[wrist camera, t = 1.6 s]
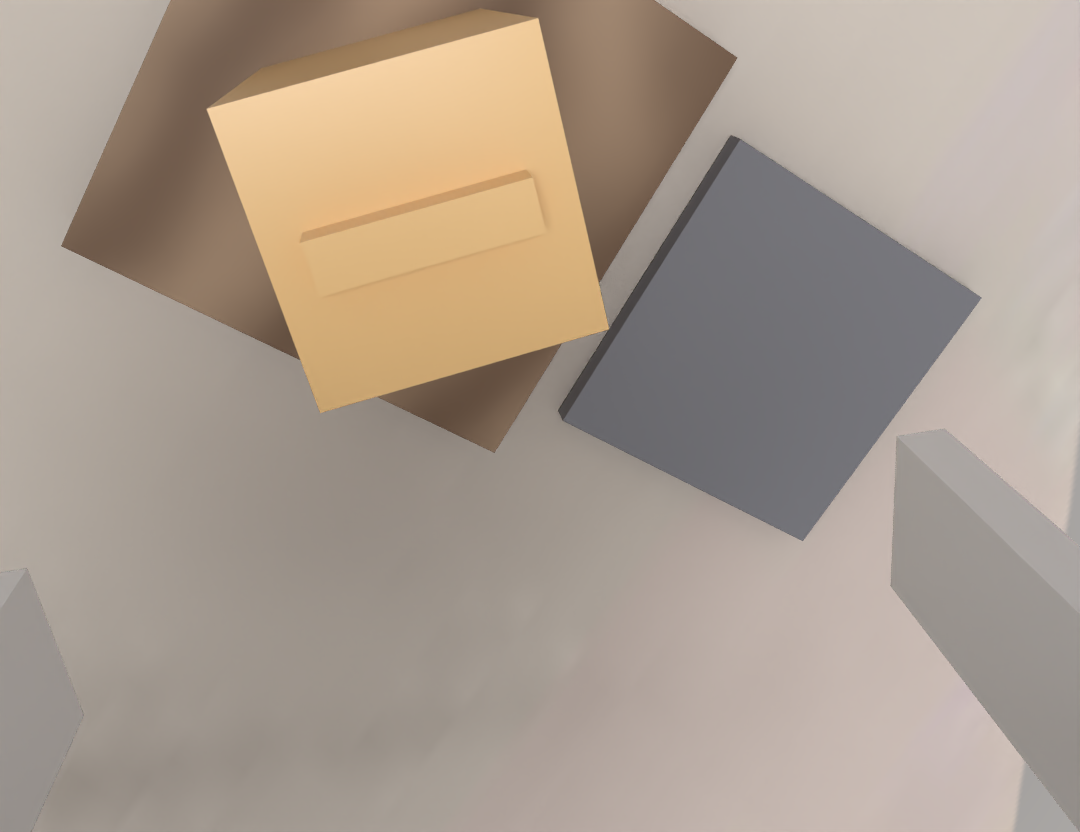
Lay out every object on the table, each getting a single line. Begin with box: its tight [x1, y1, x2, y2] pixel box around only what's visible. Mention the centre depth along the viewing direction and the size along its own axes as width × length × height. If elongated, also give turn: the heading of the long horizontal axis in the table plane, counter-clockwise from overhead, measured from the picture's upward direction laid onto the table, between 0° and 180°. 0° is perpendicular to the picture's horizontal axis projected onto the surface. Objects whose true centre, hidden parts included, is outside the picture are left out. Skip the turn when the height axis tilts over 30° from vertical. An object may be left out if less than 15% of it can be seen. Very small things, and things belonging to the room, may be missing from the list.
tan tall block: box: [207, 8, 609, 413], centre depth 27 cm, size 7×7×12 cm
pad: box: [558, 136, 981, 541], centre depth 39 cm, size 12×12×1 cm
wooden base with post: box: [61, 0, 737, 453], centre depth 29 cm, size 16×16×11 cm
